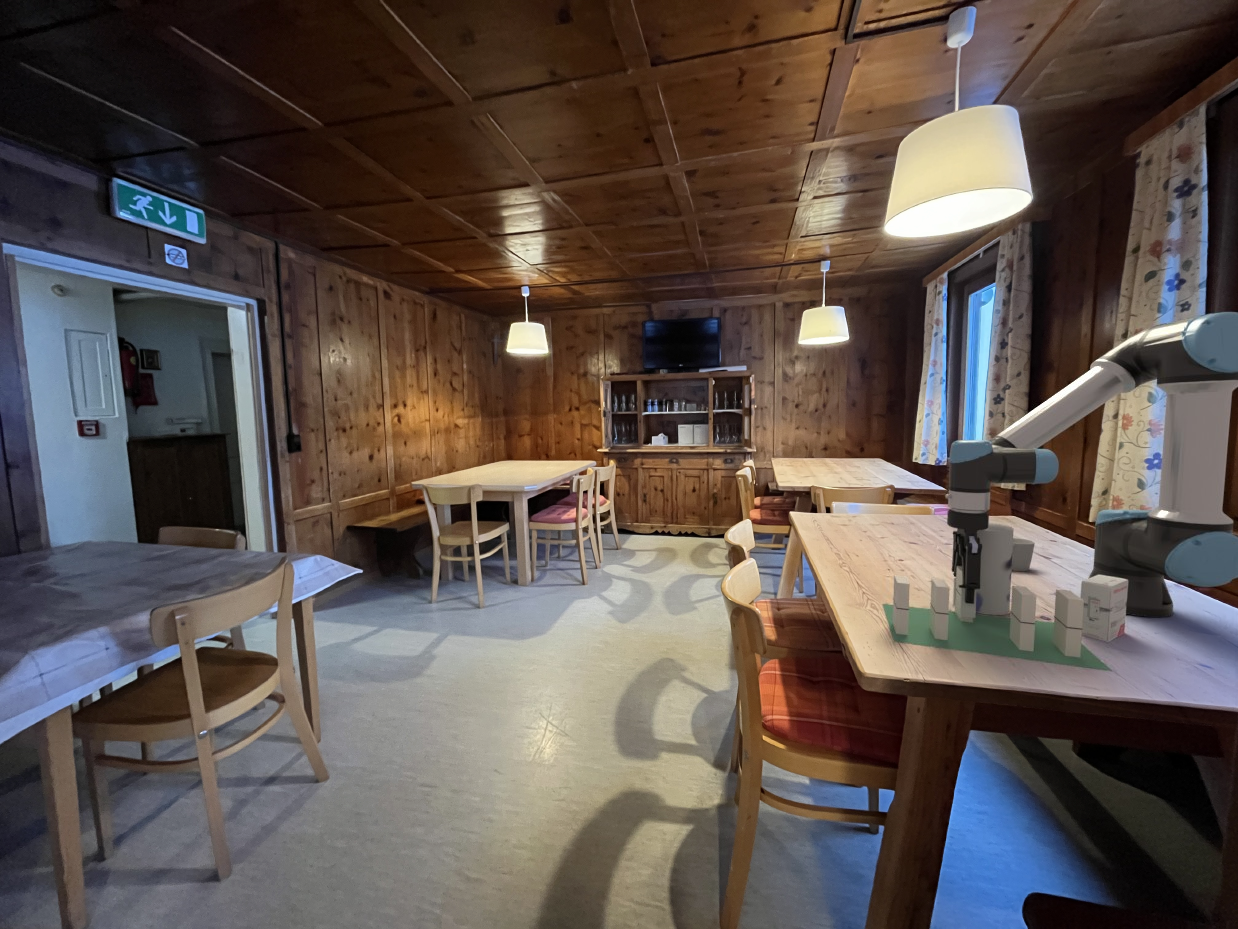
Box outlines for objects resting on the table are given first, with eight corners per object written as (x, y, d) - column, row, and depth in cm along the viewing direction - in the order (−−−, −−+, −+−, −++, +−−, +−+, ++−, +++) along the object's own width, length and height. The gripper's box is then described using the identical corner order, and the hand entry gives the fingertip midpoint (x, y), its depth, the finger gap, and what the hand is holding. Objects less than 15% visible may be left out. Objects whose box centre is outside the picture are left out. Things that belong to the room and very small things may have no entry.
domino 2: (941, 629, 105) (943, 579, 104) (947, 640, 100) (949, 587, 99) (929, 628, 106) (931, 578, 105) (934, 638, 101) (936, 586, 100)
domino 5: (1067, 645, 97) (1070, 590, 96) (1080, 657, 92) (1084, 600, 91) (1052, 643, 98) (1055, 589, 97) (1065, 655, 93) (1068, 599, 92)
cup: (1038, 570, 145) (1040, 541, 144) (1020, 575, 140) (1021, 546, 139) (1009, 563, 151) (1010, 536, 151) (990, 568, 147) (991, 540, 146)
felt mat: (1058, 625, 107) (1058, 623, 107) (1112, 673, 87) (1112, 671, 87) (882, 605, 120) (882, 603, 120) (893, 643, 100) (893, 641, 100)
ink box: (1095, 626, 106) (1098, 572, 105) (1126, 634, 102) (1130, 579, 101) (1076, 635, 102) (1080, 579, 101) (1108, 644, 98) (1112, 586, 97)
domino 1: (904, 624, 108) (905, 576, 107) (908, 635, 103) (909, 583, 102) (892, 623, 109) (893, 574, 108) (895, 633, 103) (897, 582, 102)
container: (1018, 617, 111) (1023, 530, 109) (968, 614, 113) (972, 529, 112) (995, 601, 121) (999, 521, 119) (950, 599, 123) (953, 520, 121)
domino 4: (1023, 639, 100) (1025, 586, 99) (1033, 651, 94) (1036, 596, 93) (1009, 637, 100) (1012, 585, 99) (1019, 649, 95) (1022, 594, 94)
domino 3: (966, 613, 113) (968, 566, 112) (972, 622, 108) (975, 573, 107) (954, 612, 114) (956, 565, 113) (960, 621, 109) (962, 572, 108)
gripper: (939, 502, 119) (935, 595, 121) (958, 516, 102) (953, 624, 104) (976, 503, 116) (972, 599, 118) (1002, 518, 99) (997, 630, 101)
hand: (963, 610), depth 111 cm, fingers open, 6 cm apart
